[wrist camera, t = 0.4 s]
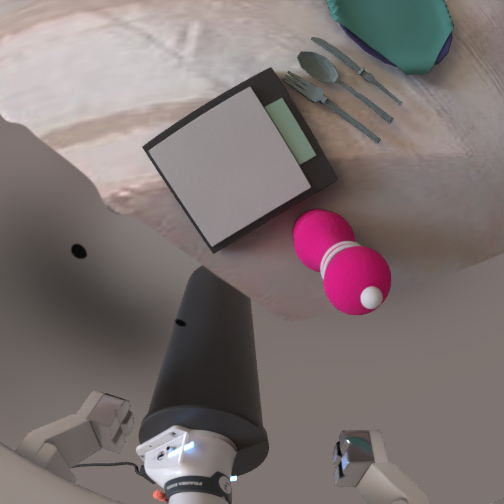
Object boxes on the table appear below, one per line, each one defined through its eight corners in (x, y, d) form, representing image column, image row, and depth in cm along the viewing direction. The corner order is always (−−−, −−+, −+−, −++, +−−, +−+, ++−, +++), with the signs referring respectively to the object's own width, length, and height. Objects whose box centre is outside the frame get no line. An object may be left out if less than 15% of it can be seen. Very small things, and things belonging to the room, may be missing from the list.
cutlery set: (460, 18, 31) (468, 15, 29) (382, 155, 38) (389, 156, 36) (360, -60, 27) (365, -67, 25) (255, 68, 34) (256, 63, 32)
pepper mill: (297, 198, 40) (350, 247, 21) (348, 212, 41) (429, 268, 22) (282, 251, 42) (317, 336, 23) (332, 262, 43) (393, 346, 24)
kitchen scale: (214, 249, 42) (212, 255, 39) (145, 146, 37) (140, 146, 35) (334, 178, 39) (339, 180, 37) (269, 70, 35) (271, 65, 32)
